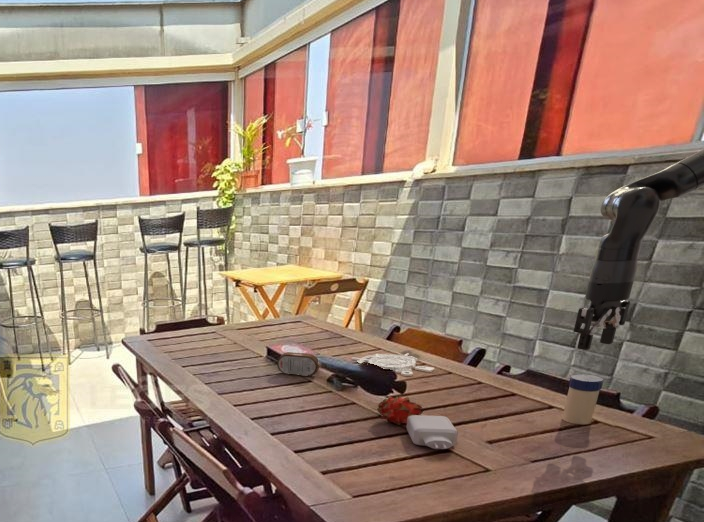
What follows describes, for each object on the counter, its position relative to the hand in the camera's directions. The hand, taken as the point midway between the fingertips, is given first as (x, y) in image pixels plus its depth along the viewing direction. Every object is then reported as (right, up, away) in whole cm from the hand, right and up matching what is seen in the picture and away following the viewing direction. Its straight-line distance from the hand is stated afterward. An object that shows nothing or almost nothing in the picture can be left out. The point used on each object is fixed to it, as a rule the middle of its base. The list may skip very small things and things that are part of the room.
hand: (594, 346), depth 121 cm
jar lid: (+1, -8, +3) cm, 9 cm away
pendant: (-13, 0, +63) cm, 64 cm away
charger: (-38, -25, +3) cm, 45 cm away
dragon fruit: (-38, -20, +17) cm, 46 cm away
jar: (+2, -19, +7) cm, 20 cm away
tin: (-49, -4, +64) cm, 80 cm away
